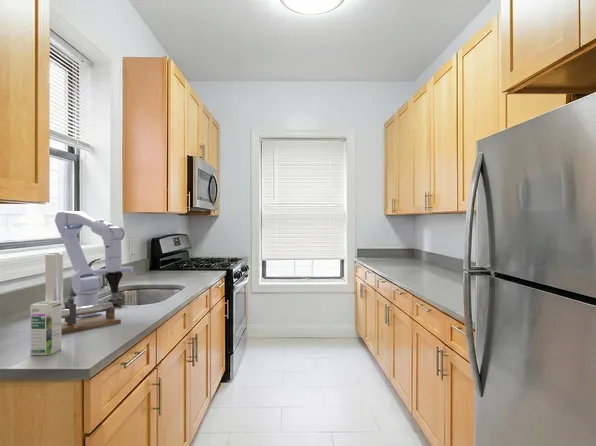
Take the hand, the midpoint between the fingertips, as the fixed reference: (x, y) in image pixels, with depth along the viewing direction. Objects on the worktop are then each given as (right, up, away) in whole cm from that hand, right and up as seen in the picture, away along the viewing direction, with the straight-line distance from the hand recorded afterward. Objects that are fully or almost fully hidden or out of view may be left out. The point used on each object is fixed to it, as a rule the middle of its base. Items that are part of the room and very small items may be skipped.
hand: (113, 291), depth 150 cm
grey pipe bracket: (-9, -8, -14) cm, 18 cm away
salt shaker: (-10, -11, +22) cm, 26 cm away
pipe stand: (-6, -11, -11) cm, 16 cm away
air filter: (-34, -11, +17) cm, 39 cm away
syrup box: (-1, -11, -39) cm, 40 cm away
